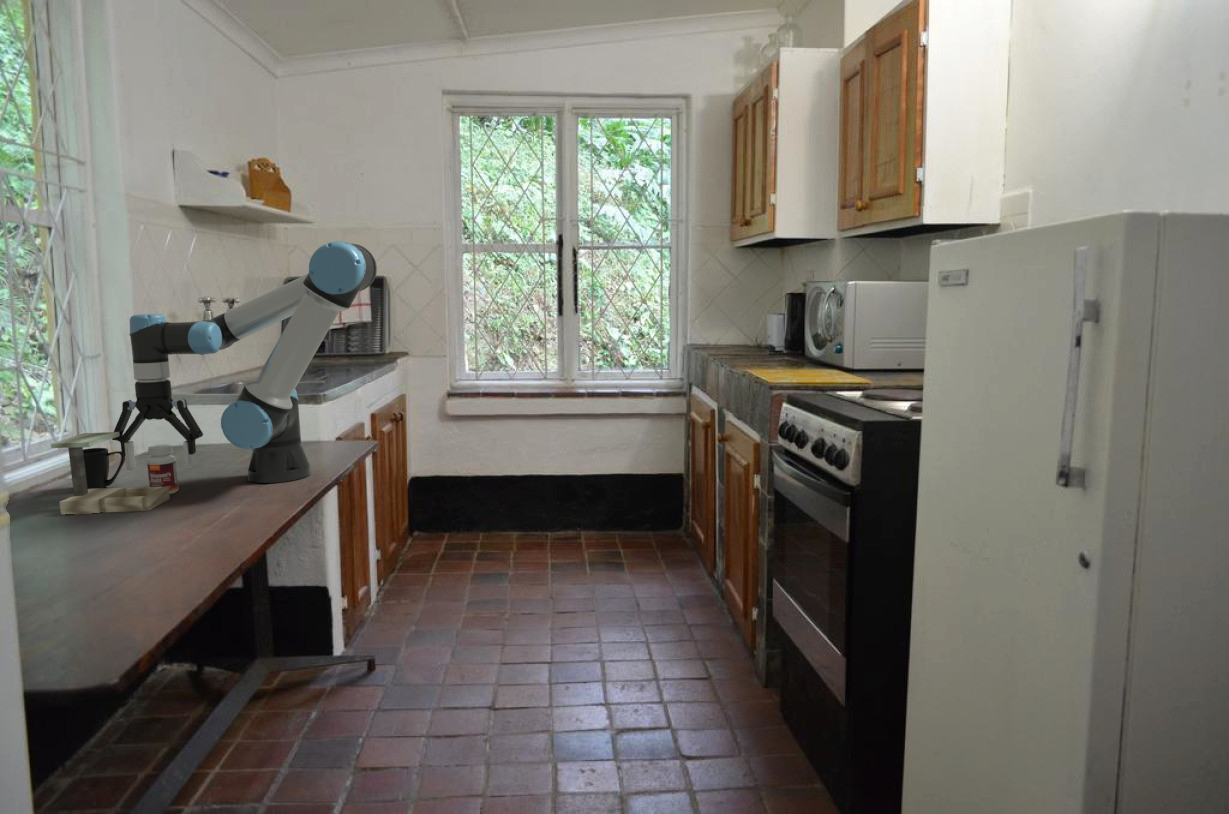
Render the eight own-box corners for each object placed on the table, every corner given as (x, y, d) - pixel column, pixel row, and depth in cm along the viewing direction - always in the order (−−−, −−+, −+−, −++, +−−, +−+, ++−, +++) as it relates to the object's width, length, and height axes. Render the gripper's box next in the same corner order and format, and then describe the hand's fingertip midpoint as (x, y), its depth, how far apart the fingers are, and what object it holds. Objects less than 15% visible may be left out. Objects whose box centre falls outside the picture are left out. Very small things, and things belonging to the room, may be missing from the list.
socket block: (172, 497, 207) (165, 430, 204) (145, 512, 194) (137, 440, 191) (91, 500, 206) (83, 433, 203) (59, 515, 193) (50, 443, 191)
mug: (121, 490, 216) (116, 452, 215) (68, 493, 214) (63, 455, 213) (133, 482, 224) (129, 445, 223) (82, 485, 222) (77, 448, 221)
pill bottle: (149, 497, 208) (144, 449, 206) (151, 491, 213) (146, 445, 212) (178, 493, 210) (173, 447, 209) (179, 488, 216) (175, 443, 214)
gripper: (212, 377, 212) (219, 463, 215) (106, 379, 211) (115, 466, 214) (199, 380, 205) (207, 470, 208) (89, 382, 204) (98, 472, 207)
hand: (160, 468), depth 211 cm, fingers open, 13 cm apart
